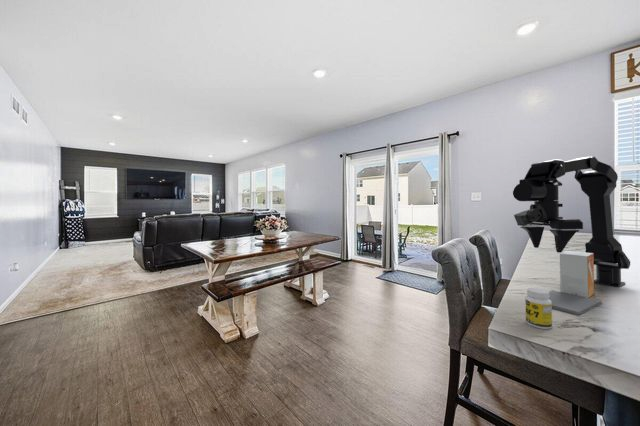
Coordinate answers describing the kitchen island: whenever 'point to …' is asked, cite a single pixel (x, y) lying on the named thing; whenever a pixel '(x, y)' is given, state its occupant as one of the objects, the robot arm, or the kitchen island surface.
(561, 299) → the mat
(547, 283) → the kitchen island surface
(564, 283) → the small box
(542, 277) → the kitchen island surface
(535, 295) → the supplement bottle
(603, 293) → the kitchen island surface
